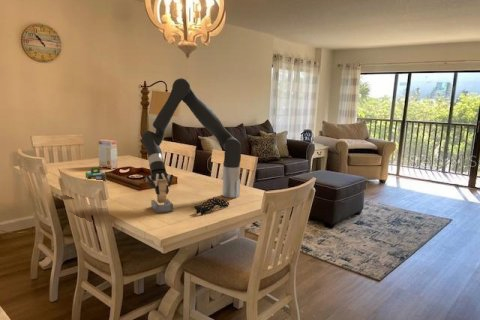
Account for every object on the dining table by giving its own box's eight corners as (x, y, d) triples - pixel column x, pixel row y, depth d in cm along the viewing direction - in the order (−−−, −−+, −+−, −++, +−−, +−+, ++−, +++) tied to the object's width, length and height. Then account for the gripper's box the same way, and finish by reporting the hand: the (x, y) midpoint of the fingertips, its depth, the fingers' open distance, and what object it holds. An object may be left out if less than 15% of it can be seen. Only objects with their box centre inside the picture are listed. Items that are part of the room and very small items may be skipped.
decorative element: (223, 204, 186) (223, 193, 185) (230, 206, 183) (230, 195, 182) (192, 214, 168) (192, 202, 167) (199, 217, 165) (199, 204, 164)
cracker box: (117, 168, 265) (117, 140, 261) (111, 169, 260) (110, 141, 256) (105, 165, 272) (105, 139, 269) (99, 167, 267) (98, 139, 264)
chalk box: (103, 190, 204) (102, 165, 201) (106, 194, 196) (105, 167, 194) (85, 191, 199) (84, 166, 196) (88, 195, 191) (87, 169, 189)
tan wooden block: (157, 201, 174) (157, 179, 172) (164, 200, 175) (164, 178, 173) (159, 203, 170) (159, 181, 168) (166, 202, 172) (166, 180, 170)
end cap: (151, 206, 176) (151, 199, 176) (167, 205, 180) (167, 198, 179) (156, 213, 167) (156, 206, 166) (173, 211, 170) (173, 204, 170)
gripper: (143, 160, 173) (149, 191, 164) (172, 159, 179) (178, 188, 170) (141, 169, 178) (146, 199, 170) (169, 168, 185) (175, 196, 176)
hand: (162, 193), depth 170 cm, fingers closed on tan wooden block, 3 cm apart
